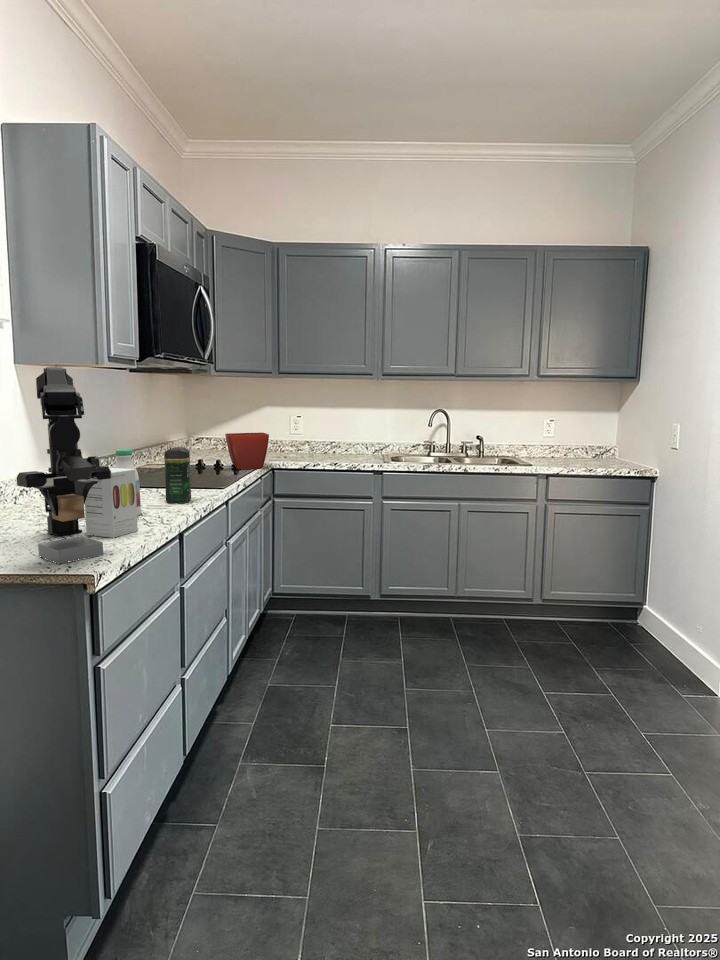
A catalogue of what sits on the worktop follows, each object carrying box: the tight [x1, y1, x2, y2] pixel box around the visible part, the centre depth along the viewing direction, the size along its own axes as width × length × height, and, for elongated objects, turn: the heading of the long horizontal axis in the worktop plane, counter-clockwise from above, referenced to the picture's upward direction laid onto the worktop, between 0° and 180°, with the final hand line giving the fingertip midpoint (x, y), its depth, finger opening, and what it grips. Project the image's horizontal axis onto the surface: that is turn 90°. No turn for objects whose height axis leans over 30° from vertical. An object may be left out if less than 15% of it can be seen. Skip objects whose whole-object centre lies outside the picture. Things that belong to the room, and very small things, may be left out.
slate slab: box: [37, 535, 104, 564], centre depth 141 cm, size 10×10×3 cm
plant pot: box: [225, 432, 270, 470], centre depth 306 cm, size 19×19×17 cm
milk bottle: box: [114, 448, 142, 517], centre depth 187 cm, size 8×8×20 cm
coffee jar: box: [163, 446, 192, 504], centre depth 211 cm, size 10×8×19 cm
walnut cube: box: [52, 494, 86, 522], centre depth 140 cm, size 5×5×5 cm
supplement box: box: [84, 467, 139, 539], centre depth 164 cm, size 10×9×17 cm
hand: (68, 514), depth 140 cm, fingers closed on walnut cube, 5 cm apart
